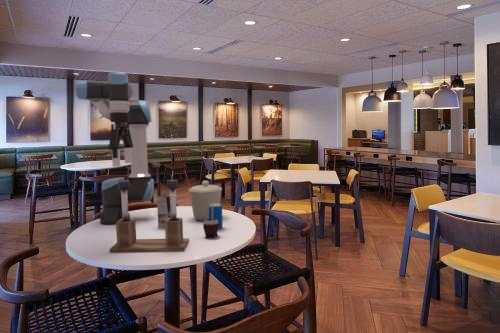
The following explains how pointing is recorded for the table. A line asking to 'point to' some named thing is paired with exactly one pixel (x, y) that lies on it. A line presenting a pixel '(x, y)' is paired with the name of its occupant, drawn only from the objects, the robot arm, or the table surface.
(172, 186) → the plunger
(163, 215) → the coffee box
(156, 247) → the stand
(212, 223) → the mate gourd
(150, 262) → the table surface
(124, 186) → the plunger
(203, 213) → the canister
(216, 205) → the beverage can
